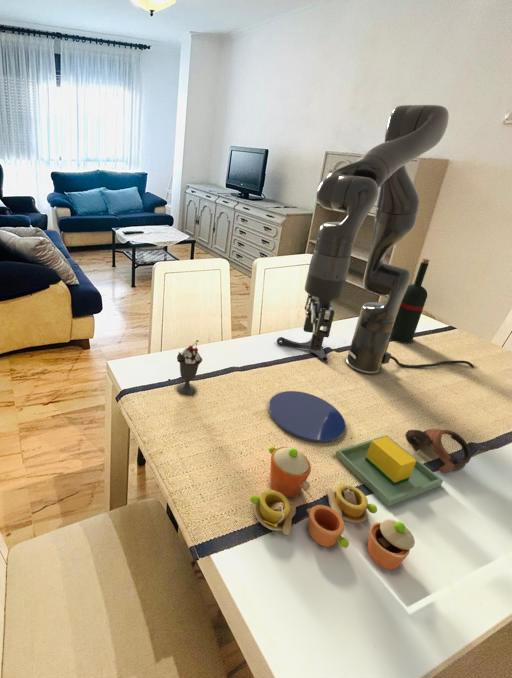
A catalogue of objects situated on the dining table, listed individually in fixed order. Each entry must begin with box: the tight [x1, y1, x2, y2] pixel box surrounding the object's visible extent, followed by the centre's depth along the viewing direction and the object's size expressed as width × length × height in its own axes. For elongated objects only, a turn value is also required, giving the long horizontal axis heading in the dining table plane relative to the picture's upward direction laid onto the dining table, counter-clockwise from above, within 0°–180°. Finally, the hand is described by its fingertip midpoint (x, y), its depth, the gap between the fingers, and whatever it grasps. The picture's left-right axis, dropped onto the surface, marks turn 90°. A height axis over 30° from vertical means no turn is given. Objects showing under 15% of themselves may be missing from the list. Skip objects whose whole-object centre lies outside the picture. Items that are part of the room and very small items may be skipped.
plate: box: [268, 390, 346, 444], centre depth 96 cm, size 18×18×1 cm
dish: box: [334, 434, 444, 508], centre depth 82 cm, size 15×13×2 cm
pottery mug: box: [404, 427, 472, 473], centre depth 86 cm, size 12×10×8 cm
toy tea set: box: [250, 446, 416, 571], centre depth 70 cm, size 26×16×10 cm, turn 67°
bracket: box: [276, 336, 329, 362], centre depth 129 cm, size 14×15×3 cm
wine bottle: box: [389, 258, 430, 344], centre depth 135 cm, size 8×10×30 cm
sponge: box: [365, 435, 418, 486], centre depth 81 cm, size 4×7×6 cm, turn 21°
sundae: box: [176, 339, 203, 397], centre depth 102 cm, size 7×7×15 cm
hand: (311, 340), depth 87 cm, fingers open, 8 cm apart
